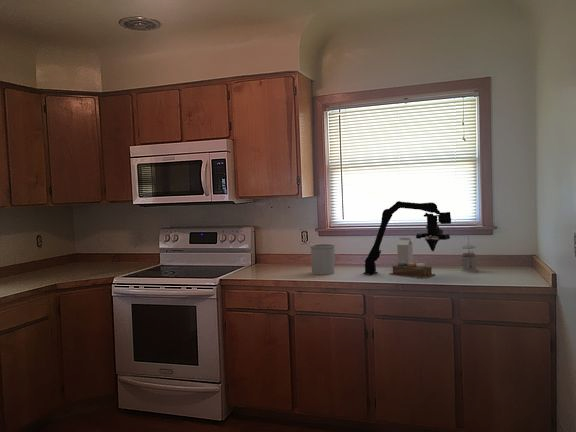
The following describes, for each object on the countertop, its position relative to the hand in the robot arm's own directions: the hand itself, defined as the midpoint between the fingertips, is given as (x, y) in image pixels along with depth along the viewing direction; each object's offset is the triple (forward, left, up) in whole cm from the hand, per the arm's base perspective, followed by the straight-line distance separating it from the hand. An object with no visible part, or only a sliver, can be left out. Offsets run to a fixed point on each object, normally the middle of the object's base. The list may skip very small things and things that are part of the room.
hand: (432, 251), depth 279 cm
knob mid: (-10, +8, -12) cm, 17 cm away
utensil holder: (-34, +55, -13) cm, 66 cm away
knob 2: (-10, +2, -11) cm, 15 cm away
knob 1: (-10, +14, -12) cm, 21 cm away
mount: (-10, +8, -13) cm, 18 cm away
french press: (+20, -12, -13) cm, 27 cm away
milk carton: (+8, +24, -13) cm, 29 cm away
